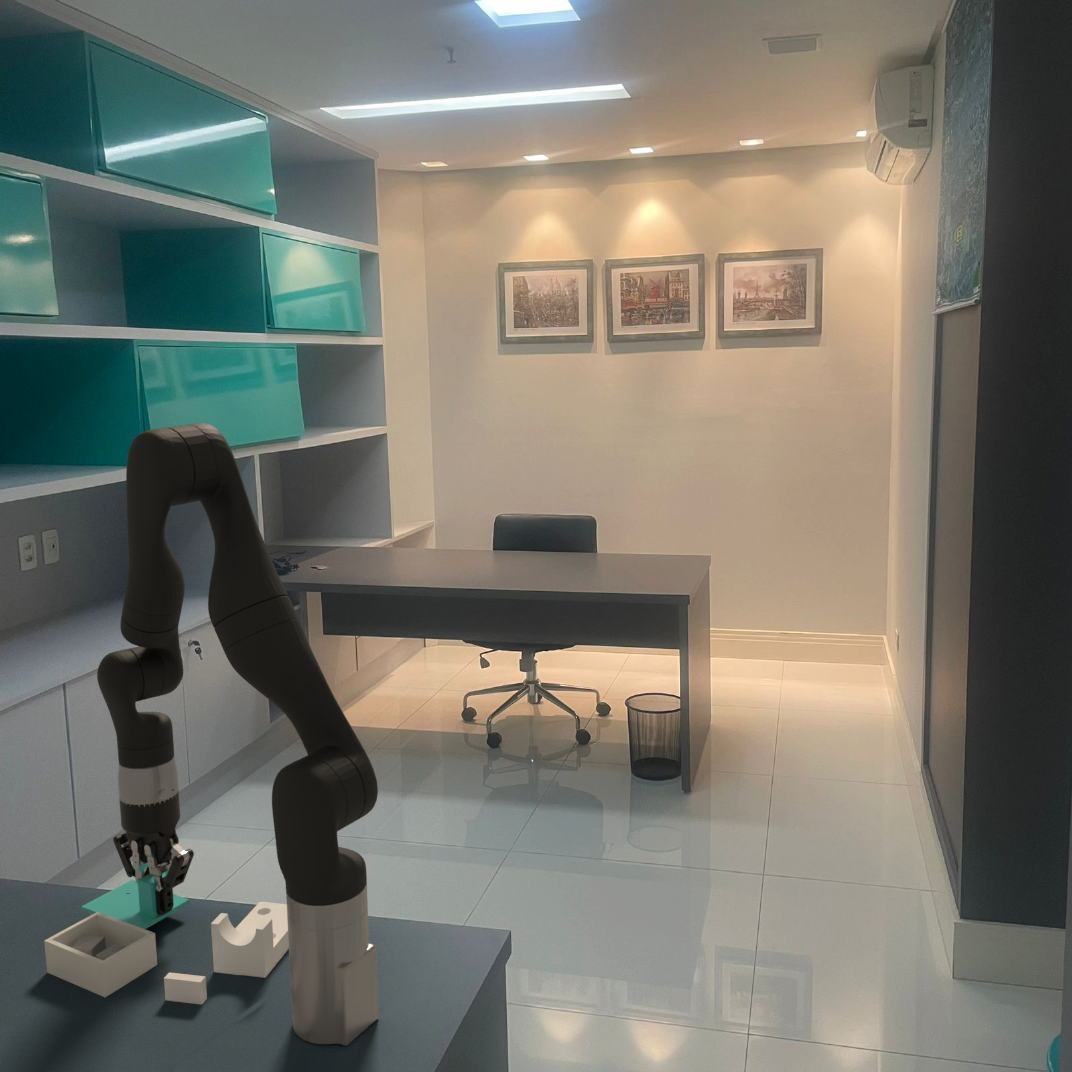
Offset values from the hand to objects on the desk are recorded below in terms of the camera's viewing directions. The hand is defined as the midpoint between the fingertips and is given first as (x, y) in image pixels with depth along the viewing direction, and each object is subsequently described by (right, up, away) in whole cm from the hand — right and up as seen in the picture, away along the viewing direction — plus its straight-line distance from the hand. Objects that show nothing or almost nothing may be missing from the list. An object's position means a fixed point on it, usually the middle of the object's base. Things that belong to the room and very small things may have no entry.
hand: (157, 909), depth 144 cm
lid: (-4, 0, +2) cm, 4 cm away
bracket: (+16, -4, -5) cm, 17 cm away
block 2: (-2, -5, -11) cm, 11 cm away
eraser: (+9, -6, -16) cm, 19 cm away
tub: (-4, -5, -9) cm, 11 cm away
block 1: (-6, -4, -8) cm, 11 cm away
